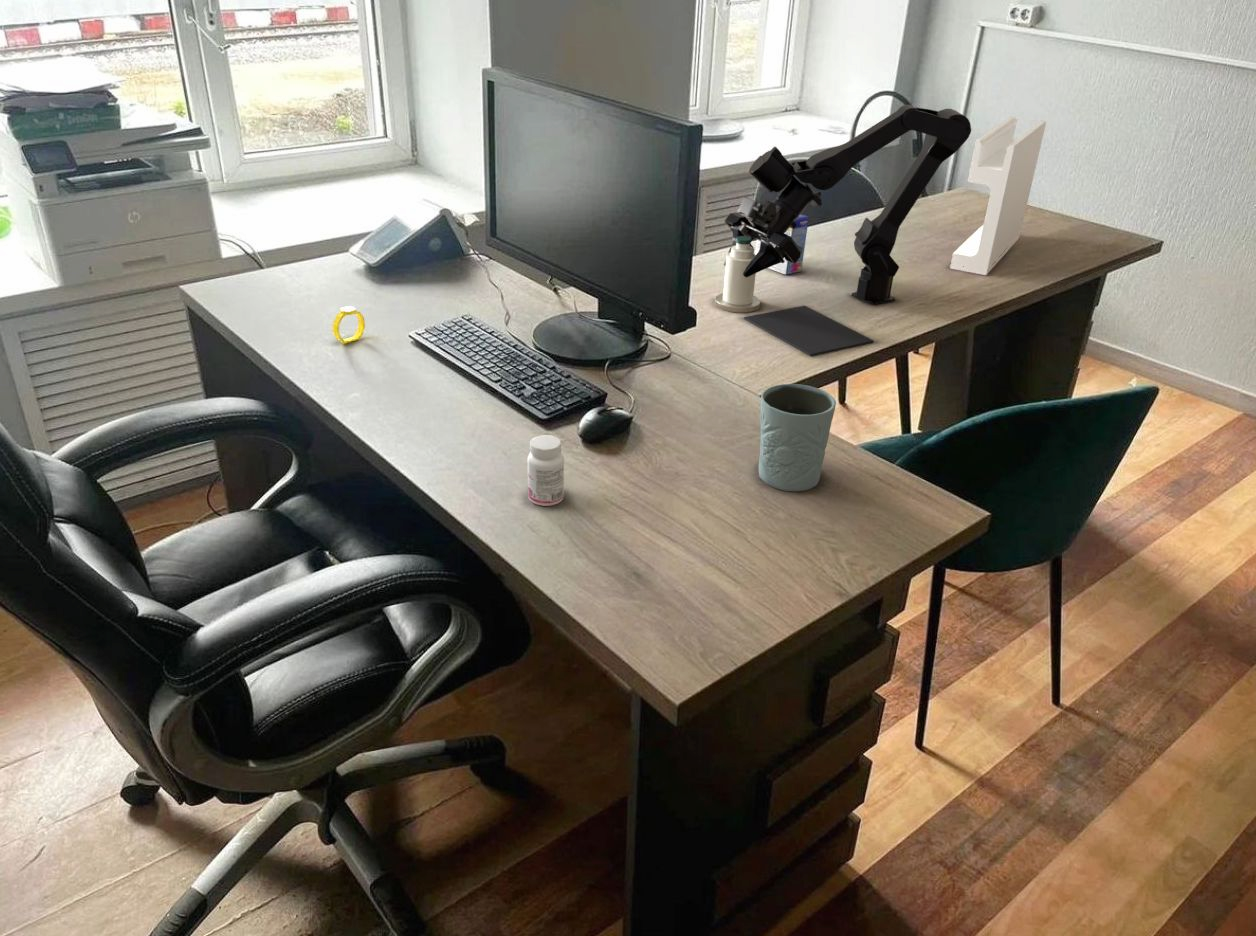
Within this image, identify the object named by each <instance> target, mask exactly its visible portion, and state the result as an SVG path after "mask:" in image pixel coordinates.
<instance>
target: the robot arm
mask: <svg viewBox="0 0 1256 936" xmlns="http://www.w3.org/2000/svg"><path fill="white" fill-rule="evenodd" d="M971 125H972V124H971V121H970V120H969V118H968V117H967V116H966V115H965V114H962V113H960V112H959V111H958V110H956V109H953V108H944V109H941V110H935V109H930V108H923V107H916V106H914V105H912V104H904V105H902V106H900V107H899V108H898V109H897V110H896V111H894V112H893V113H891V114H890V115H888V116H886V117H885V118H883V119H882V120H880V121H879V122H877V123H875V124H873V125H872V126H871V127H869V128H867V129H865V130H864V131H862V132H861V133H859V134H858V135H856V136H855V137H853V138H851V139H850V140H848V141H847V142H845V143H843V144H841V145H840V144H839V145H837V146H834V147H830V148H829V147H828V148H826V149H824V150H822V151H818V152H817V153H814V154H812V155H811V156H810V157H809V158H807V159H806V160H800V161H794V162H790V161H789V160H788V159H787V158H786V157H785V156H784V155H783V154H782V152H781V150H780V149H779V148H778V147H777V146H773V147H772V148H771V149H769V150H767V151H766V152H764V153H763V154H761V155H759V156H758V157H757V158H756V159H755V160H754V162H753V163H752V164H751V166H750V167H749V170H748V173H749V174H750V175H751V176H752V177H753V178H754V179H755V180H756V181H757V182H758V183H759V184H760V185H761V187H762V188H763V189H765V190H766V191H767V192H768V193H773V192H774V193H778V195H777V196H776V197H775V198H774V200H773V201H770V200H764V202H762V203H761V202H759V201H756V200H753V199H751V198H749V197H747V196H743V198H742V200H741V202H740V204H739V207H738V208H737V211H736V212H730V213H729V215H728V216H727V217H726V218H725V219H724V223H725V224H726V225H727V227H728V228H729V229H730V231H731V233H732V241H731V244H730V247H729V250H728V252H727V254H728V253H730V252H731V247H732V246H735V245H736V237H738V236H747V237H750V238H751V243H750V247H753V248H754V249H755V247H754V246H753V245H752V242H753V241H754V240H756V241H757V240H759V241H761V244H760V250H759V252H758V253H757V254H756V256H755V257H754V258H753V260H752V261H751V262H750V264H749V265H748V266H747V268H746V269H745V271H744V273H743V275H744V276H745V277H749V276H751V275H753V274H755V273H756V274H758V273H759V272H761V271H763V270H766V269H768V267H771V266H773V265H776V264H778V263H784V262H785V261H784V260H783V259H784V257H785V260H786V261H788V262H790V263H793V264H795V263H796V262H797V261H798V260H799V258H800V257H801V249H800V248H799V247H798V245H797V244H796V243H795V241H794V240H793V239H792V238H791V236H788V235H786V234H785V232H786V231H787V230H788V229H789V228H792V229H795V227H796V226H797V225H796V223H795V222H794V221H795V220H796V219H797V218H798V217H799V215H800V214H801V215H802V214H803V212H804V211H805V210H806V208H807V207H808V206H809V205H810V206H812V207H822V205H823V200H822V192H821V191H828V190H830V189H832V188H834V187H835V186H836V185H837V184H838V183H839V182H841V181H842V180H843V179H844V178H845V177H846V176H847V175H848V174H849V172H850V171H851V170H852V169H853V168H854V167H855V166H856V165H857V164H859V163H860V162H862V161H864V160H865V159H866V158H868V157H870V156H871V155H873V154H874V153H876V152H878V151H879V150H881V149H883V148H884V147H886V146H887V145H889V144H891V143H892V142H894V141H895V140H897V139H898V138H900V137H902V136H903V135H906V134H907V133H909V132H911V131H915V132H919V133H922V134H925V135H924V139H923V143H922V147H921V149H920V152H919V154H918V155H917V157H916V158H915V160H914V161H913V163H912V164H911V166H910V167H909V169H908V170H907V172H906V173H905V175H904V177H903V178H902V179H901V181H900V183H899V185H897V187H896V189H895V191H894V192H893V194H892V195H891V197H890V199H888V201H887V203H886V204H885V206H884V208H883V209H882V211H881V212H880V214H878V216H876V217H875V218H874V219H873V220H870V219H869V218H868V217H865V219H864V220H863V222H862V224H861V226H860V228H859V229H858V230H857V231H856V232H855V233H854V236H855V239H854V240H853V241H854V242H853V247H854V251H855V253H856V254H857V255H858V257H859V259H861V262H862V264H863V265H864V267H863V268H861V269H860V274H859V275H860V276H859V277H858V281H857V287H856V291H855V292H854V291H853V292H851V296H852V297H854V298H856V299H858V300H860V301H863V302H865V303H867V304H869V305H872V306H874V305H881V304H886V303H889V302H895V301H896V297H894V296H892V295H891V294H892V287H893V282H894V277H895V276H896V274H897V272H898V271H899V269H900V266H899V264H898V263H897V262H896V261H895V260H894V259H893V257H892V256H891V253H892V251H893V249H894V248H895V247H894V246H895V245H896V241H897V236H898V232H899V230H900V227H901V225H902V224H903V222H904V221H905V219H906V218H907V216H908V215H909V213H910V212H911V210H912V208H913V207H914V205H915V204H916V202H917V201H918V200H919V198H920V197H921V195H922V194H923V193H924V190H925V189H926V188H927V186H928V185H929V182H930V181H931V180H932V178H933V176H934V175H935V174H936V172H937V171H938V169H939V168H940V166H941V165H942V164H943V163H944V162H945V161H946V160H948V159H949V158H950V157H952V156H953V155H954V154H955V153H957V152H958V150H959V149H960V148H961V147H962V146H963V145H964V144H965V143H966V141H968V139H969V137H970V135H971V133H972V126H971ZM809 184H811V185H812V187H813V188H814V189H817V190H819V191H815V190H814V189H812V188H811V187H810V185H809ZM820 190H821V191H820ZM747 217H748V218H747ZM759 234H760V235H759ZM723 266H725V267H726V259H725V260H724V263H723Z"/></svg>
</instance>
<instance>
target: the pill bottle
mask: <svg viewBox="0 0 1256 936" xmlns="http://www.w3.org/2000/svg"><path fill="white" fill-rule="evenodd" d="M529 450H530V452H529V453H528V455H527V495H528V500H529V501H530V502H531V503H533V504H534V505H537V506H544V507H548V506H549V507H550V506H555V505H557V504H560V503H561V502H562V501H563V500H564V496H565V484H564V483H565V457H564V454H563V453H562V441H561V439H560V438H558V437H557V436H555V435H550V434H541V435H537V436H535V437H533V438H532V439H531V440H530V441H529Z"/></svg>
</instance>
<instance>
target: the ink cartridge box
mask: <svg viewBox="0 0 1256 936" xmlns="http://www.w3.org/2000/svg"><path fill="white" fill-rule="evenodd" d="M809 219H810V217H809V216H807V215H804V214H802V213H801V214H800V215H799V217H798V218H797V219H796V220H795V221H794V222H795V223H796V225H797V226H796V227H795V229H792V228H789V229H788V230H787V231H786V232H785V234H786V235H788V236H791V238H792V239H793V240H794V241H795V243H796V244H797V245H798V247H799V248H800V249H801V257H800V258H799V260H798V261H797V262H796V263H795V264H793V263H790V262H788V261H786V260H785V257H784V259H783V260H784V261H785V262H784V263H778V264H776V265H773V266H771V267H768V268H767V269H768V270H771V271H773V272H776V273H779V274H783V275H790V274H795V273H801V272H803V271H802V270H803V264H804V263H803V262H804V256H805V248H806V239H807V233H808V225H809ZM759 235H760V234H759ZM760 244H761V241H759V240H757V239H756V245H755V250H754V254H755V255H756V254H757V253H758V252H759V250H760Z"/></svg>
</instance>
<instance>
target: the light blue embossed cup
mask: <svg viewBox="0 0 1256 936" xmlns="http://www.w3.org/2000/svg"><path fill="white" fill-rule="evenodd" d="M836 405H837V401H836V399H835V398H834V396H833V395H832V394H830V393H828V392H827V391H826V390H823V389H822V388H821V389H820V388H818V387H815V386H811V385H806V384H799V383H784V384H776V385H772V386H770V387H768V388H766V389H765V390H764V391H763V392H762V393H761V396H760V439H759V458H758V459H759V460H758V476H759V479H761V481H762V482H763V483H765V484H766V485H768V486H770V487H772V488H774V489H776V490H780V491H786V492H804V491H808V490H812V489H813V488H815V487H816V486H817V485H818V484H819V482H820V479H821V474H822V467H823V463H824V460H825V454H826V449H827V445H828V441H829V437H830V432H831V426H832V423H833V419H834V415H835V412H836V411H835V410H836Z"/></svg>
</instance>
